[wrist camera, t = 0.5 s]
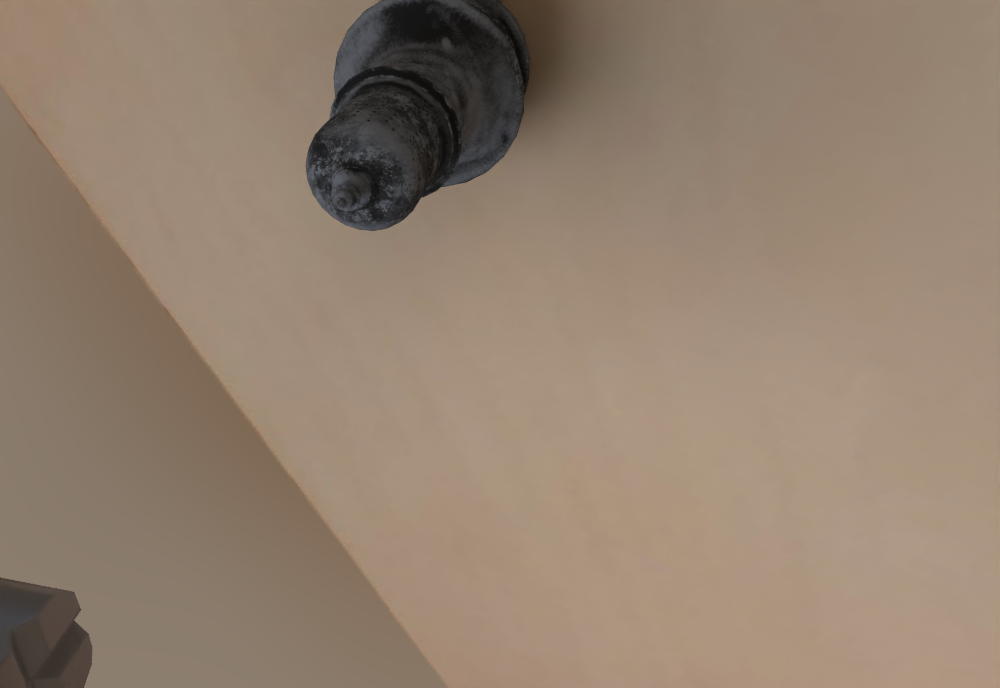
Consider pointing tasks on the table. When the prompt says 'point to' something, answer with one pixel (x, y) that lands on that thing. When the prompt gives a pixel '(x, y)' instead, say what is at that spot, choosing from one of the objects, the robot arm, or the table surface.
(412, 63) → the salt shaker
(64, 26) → the table surface
